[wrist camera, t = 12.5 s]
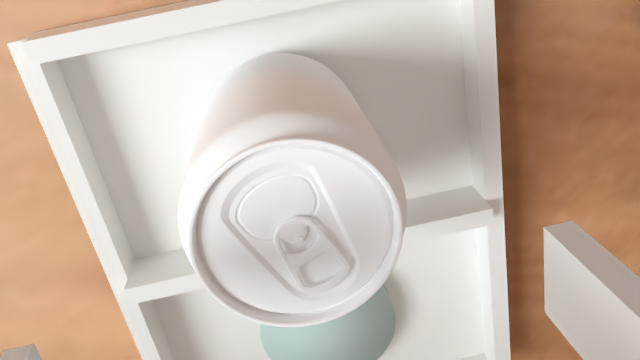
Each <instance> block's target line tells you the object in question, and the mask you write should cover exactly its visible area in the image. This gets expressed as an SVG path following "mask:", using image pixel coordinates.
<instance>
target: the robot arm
mask: <svg viewBox="0 0 640 360" xmlns="http://www.w3.org/2000/svg"><path fill="white" fill-rule="evenodd" d="M544 297H545V313H546V314H547V316H548V317H549V318H550V319H551V321H552V322H553V323H554V324H555V325H556V327H557V328H558V329H559V330H560V332H561V333H562V334H563V335H564V337H565V338H566V339H567V340H568V342H569V343H570V344H571V345H572V346H573V348H574V349H575V350H576V351H577V353H578V354H579V355H580V356H581V358H582V359H583V360H640V277H639V276H637V275H636V274H635V273H634V272H633V271H632V270H630V269H629V268H628V267H627V266H626V265H624V264H623V263H622V262H621V261H620V260H618V259H617V258H616V257H615V256H614V255H613V254H611V253H610V252H609V251H608V250H607V249H605V248H604V247H603V246H602V245H601V244H600V243H598V242H597V241H596V240H595V239H594V238H592V237H591V236H590V235H589V234H588V233H586V232H585V231H584V230H583V229H582V228H581V227H579V226H578V225H577V224H576V223H575V222H573V221H568V222H564V223H559V224H555V225H550V226H546V227H544ZM0 360H42V358H41V356H40V354H39V352H38V350H37V348H36V346H35V344H31V345H26V346H22V347H17V348H13V349H9V350H4V351H3V352H2V354H1V355H0Z"/></svg>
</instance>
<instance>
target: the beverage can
mask: <svg viewBox="0 0 640 360" xmlns="http://www.w3.org/2000/svg"><path fill="white" fill-rule="evenodd" d="M406 218H407V202H406V194H405V189H404V184H403V181H402V178H401V175H400V173H399V170H398V168H397V166H396V164H395V163H394V161H393V159H392V158H391V156H390V154H389V153H388V151H387V150H386V148H385V146H384V145H383V143H382V142H381V140H380V139H379V137H378V135H377V134H376V132H375V131H374V129H373V128H372V126H371V124H370V123H369V121H368V120H367V118H366V117H365V115H364V113H363V112H362V110H361V109H360V107H359V105H358V104H357V102H356V101H355V99H354V98H353V96H352V94H351V93H350V91H349V90H348V88H347V87H346V85H345V84H344V83H343V82H342V80H341V79H340V78H339V77H338V76H337V75H336V74H335V73H334V72H333V71H331V70H330V69H329V68H327V67H326V66H324V65H323V64H321V63H319V62H317V61H315V60H313V59H310V58H308V57H304V56H301V55H296V54H288V53H275V54H267V55H263V56H259V57H256V58H253V59H250V60H248V61H246V62H244V63H242V64H240V65H239V66H237V67H236V68H234V69H233V70H232V71H230V72H229V73H228V74H227V75H226V76H225V77H224V78H223V79H222V80H221V81H220V82H219V84H218V85H217V86H216V88H215V89H214V91H213V93H212V95H211V97H210V99H209V101H208V104H207V106H206V110H205V113H204V116H203V119H202V123H201V126H200V129H199V133H198V136H197V139H196V143H195V146H194V149H193V153H192V156H191V159H190V163H189V166H188V169H187V172H186V176H185V179H184V182H183V186H182V189H181V193H180V198H179V204H178V227H179V233H180V238H181V242H182V245H183V248H184V251H185V253H186V255H187V257H188V259H189V261H190V263H191V265H192V267H193V268H194V270H195V272H196V274H197V276H198V278H199V280H200V281H201V283H202V284H203V286H204V287H205V288H206V290H207V291H208V292H209V293H210V294H211V295H212V296H213V297H214V298H215V299H216V300H217V301H218V302H219V303H220V304H222V305H223V306H224V307H226V308H227V309H229V310H230V311H232V312H233V313H235V314H237V315H239V316H241V317H243V318H246V319H248V320H251V321H254V322H257V323H260V324H265V325H270V326H277V327H305V326H312V325H317V324H321V323H325V322H328V321H331V320H334V319H336V318H339V317H341V316H343V315H345V314H347V313H349V312H351V311H353V310H354V309H356V308H358V307H359V306H361V305H362V304H363V303H365V302H366V301H367V300H368V299H369V298H371V297H372V296H373V295H374V294H375V293H376V292H377V291H378V290H379V289H380V287H381V286H382V285H383V284H384V283H385V281H386V280H387V278H388V277H389V275H390V274H391V272H392V270H393V268H394V266H395V264H396V262H397V259H398V256H399V253H400V250H401V245H402V239H403V235H404V231H405V225H406Z"/></svg>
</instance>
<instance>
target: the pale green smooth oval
mask: <svg viewBox="0 0 640 360" xmlns="http://www.w3.org/2000/svg"><path fill="white" fill-rule="evenodd" d="M395 325H396V315H395V310H394V306H393V304H392V301H391V299H390V296H389V293H388V291H387V289H386V287H385V286H384V284H383V285H382V286H381V287H380V289H379V290H378V291H377V292H376V293H375V294H374V295H373V296H372V297H371V298H369V299H368V300H367V301H366V302H365V303H363V304H362V305H361V306H359V307H358V308H356V309H354V310H353V311H351V312H349V313H347V314H345V315H343V316H341V317H339V318H336V319H334V320H331V321H328V322H325V323H321V324H317V325H312V326H305V327H277V326H270V325H265V324H260V336H261V342H262V345H263V348H264V350H265V352H266V354H267V355H268V357H269V358H270V359H271V360H377V359H378V358H379V357H380V356H381V355H382V354H383V353H384V352H385V350H386V349H387V347H388V346H389V344H390V342H391V340H392V338H393V335H394V331H395Z"/></svg>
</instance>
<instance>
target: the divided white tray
mask: <svg viewBox="0 0 640 360" xmlns="http://www.w3.org/2000/svg"><path fill="white" fill-rule="evenodd" d="M7 45H8V48H9V50H10V52H11V55H12V57H13V59H14V62H15V64H16V66H17V69H18V71H19V73H20V76H21V78H22V80H23V83H24V85H25V87H26V90H27V92H28V94H29V97H30V99H31V101H32V104H33V106H34V108H35V111H36V113H37V115H38V118H39V120H40V122H41V125H42V127H43V129H44V132H45V134H46V136H47V138H48V141H49V143H50V145H51V148H52V150H53V152H54V155H55V157H56V159H57V162H58V164H59V166H60V169H61V171H62V173H63V176H64V178H65V180H66V183H67V185H68V187H69V190H70V192H71V194H72V197H73V199H74V201H75V204H76V206H77V208H78V211H79V213H80V215H81V218H82V220H83V222H84V225H85V227H86V229H87V232H88V234H89V236H90V239H91V241H92V243H93V246H94V248H95V250H96V253H97V255H98V257H99V260H100V262H101V264H102V267H103V269H104V271H105V274H106V276H107V278H108V281H109V283H110V285H111V288H112V290H113V292H114V295H115V297H116V299H117V302H118V304H119V306H120V309H121V311H122V313H123V316H124V318H125V320H126V323H127V325H128V327H129V330H130V332H131V334H132V337H133V339H134V341H135V344H136V346H137V348H138V351H139V353H140V355H141V357H142V360H271V359H270V358H269V357H268V355H267V354H266V352H265V350H264V348H263V345H262V342H261V336H260V323H257V322H254V321H251V320H248V319H246V318H243V317H241V316H239V315H237V314H235V313H233V312H232V311H230V310H229V309H227V308H226V307H224V306H223V305H222V304H220V303H219V302H218V301H217V300H216V299H215V298H214V297H213V296H212V295H211V294H210V293H209V292H208V291H207V290H206V288H205V287H204V286H203V284H202V283H201V281H200V280H199V278H198V276H197V274H196V272H195V270H194V268H193V267H192V265H191V263H190V261H189V259H188V257H187V255H186V253H185V251H184V248H183V245H182V242H181V238H180V233H179V227H178V204H179V198H180V193H181V189H182V186H183V182H184V179H185V176H186V172H187V169H188V166H189V163H190V159H191V156H192V153H193V149H194V146H195V143H196V139H197V136H198V133H199V129H200V126H201V123H202V119H203V116H204V113H205V110H206V106H207V104H208V101H209V99H210V97H211V95H212V93H213V91H214V89H215V88H216V86H217V85H218V84H219V82H220V81H221V80H222V79H223V78H224V77H225V76H226V75H227V74H228V73H229V72H230V71H232V70H233V69H234V68H236V67H237V66H239V65H240V64H242V63H244V62H246V61H248V60H250V59H253V58H256V57H259V56H263V55H267V54H275V53H288V54H296V55H301V56H304V57H308V58H310V59H313V60H315V61H317V62H319V63H321V64H323V65H324V66H326V67H327V68H329V69H330V70H331V71H333V72H334V73H335V74H336V75H337V76H338V77H339V78H340V79H341V80H342V82H343V83H344V84H345V85H346V87H347V88H348V90H349V91H350V93H351V94H352V96H353V98H354V99H355V101H356V102H357V104H358V105H359V107H360V109H361V110H362V112H363V113H364V115H365V117H366V118H367V120H368V121H369V123H370V124H371V126H372V128H373V129H374V131H375V132H376V134H377V135H378V137H379V139H380V140H381V142H382V143H383V145H384V146H385V148H386V150H387V151H388V153H389V154H390V156H391V158H392V159H393V161H394V163H395V164H396V166H397V168H398V170H399V173H400V175H401V178H402V181H403V184H404V189H405V194H406V202H407V218H406V225H405V231H404V235H403V239H402V245H401V250H400V253H399V256H398V259H397V262H396V264H395V266H394V268H393V270H392V272H391V274H390V275H389V277H388V278H387V280H386V281H385V283H384V286H385V287H386V289H387V291H388V293H389V296H390V299H391V301H392V304H393V306H394V310H395V315H396V325H395V331H394V335H393V338H392V340H391V342H390V344H389V346H388V347H387V349H386V350H385V352H384V353H383V354H382V355H381V356H380V357H379V358H378V359H377V360H511V355H510V334H509V312H508V290H507V268H506V246H505V224H504V202H503V181H502V159H501V137H500V115H499V93H498V71H497V49H496V27H495V6H494V0H188V1H183V2H178V3H174V4H169V5H164V6H159V7H154V8H149V9H145V10H140V11H135V12H130V13H125V14H121V15H116V16H111V17H106V18H101V19H97V20H92V21H87V22H82V23H77V24H72V25H68V26H63V27H58V28H53V29H48V30H44V31H39V32H34V33H32V34H29V35H27V36H24V37H22V38H19V39H17V40H14V41H12V42H9V43H7Z"/></svg>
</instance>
